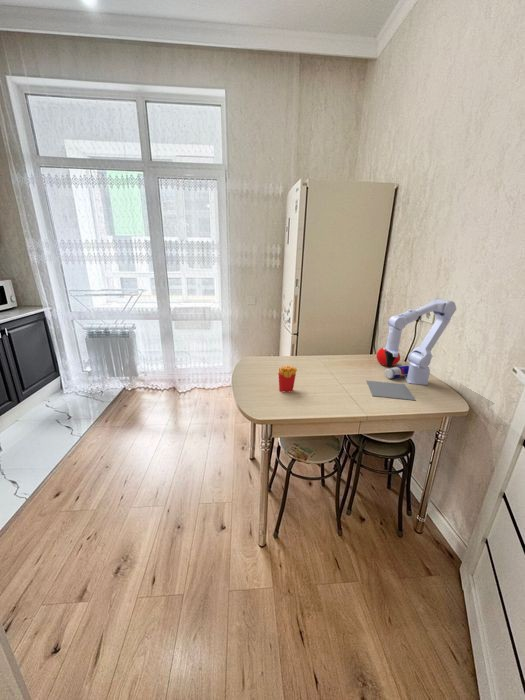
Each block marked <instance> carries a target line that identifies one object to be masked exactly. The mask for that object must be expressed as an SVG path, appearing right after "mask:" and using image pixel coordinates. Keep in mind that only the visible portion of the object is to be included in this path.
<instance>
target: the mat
mask: <svg viewBox="0 0 525 700" xmlns="http://www.w3.org/2000/svg"><path fill="white" fill-rule="evenodd" d="M366 384H367V386H368V388H369V391H370V393H371V395H372V397H377V398H383V399H384V398H386V399H396V400H406V401H414V402H416V399H415V397H414V395H413V394H412V393H411V391H410V389H409V388H408V387H407V385H406V384H404V383H397V382H396V383H394V382H389V381H387V382H385V381H376V380H375V381H374V380H366Z"/></svg>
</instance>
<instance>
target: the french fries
mask: <svg viewBox="0 0 525 700" xmlns="http://www.w3.org/2000/svg"><path fill="white" fill-rule="evenodd" d="M297 371H298V369H297V367H294V366H291V365H287V366H281V367H278V386H279V387H278V388H279V389H278V390H279V392H281V391H285V392H284V393H292V392H293V391H294V386H295V381H296V373H297ZM289 391H290V392H289ZM291 391H292V392H291Z"/></svg>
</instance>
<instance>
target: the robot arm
mask: <svg viewBox="0 0 525 700" xmlns="http://www.w3.org/2000/svg"><path fill="white" fill-rule="evenodd" d="M456 311H457V305H456V302H455V301H452V300H451V301H450V300H446V299H441V298H435V299H432V300H430V301H429V302H428V303H426V304H424V305H423V306H421V307H418V308H417V309H413V308H412V309H411V308H409V309H407V311H405V312H402V313H399V314H398V315H392V316H390V317H389V319H388V320H387V324H388V334H387V340H386V344H385V347H384V348H383V347H382V348H383V349H384V350H387V351H384V352H385V355H386V365H387V366H386V367H392V366H393V365H392V364H393V362H394V360H395V358H396V357H398V353H399V351H400V349H399V348H400V342H401V338H402V334H403V333H402V331H403V329H404V328H405V327H406V326H407V325H408V324H409V325H410V324H411V323H413V322H415V321H417V320H418V319H419V317H421V316H423V315H426V314H429V313H433V314H434V316H435V317H436V320H435V321H434V323H433V324H432V326H431V328H430V329H429V331H428V332H427V334H426V336H425V338H424V339H423V341H422V342H421V344H420V345H419V346H416V347H414V348H413V350H412V351H411V352H409V354H408V356H407V360H408V361H409V365H408V366H409V371H408V375H406V376H403V377H404V379H405V381H406V383H408V384H413V385H424V386H428V384H429V377H430V374H431V369H430V367H429V366H430V364H431V362H432V361H431V360H432V358H433V354H432V352H431V351H432V350H433V348H434V346H436V343H438V341H439V339H440V337H441V336H442V335H443V333H444V331H445V329H446V328H447V327H448V324H449V323H450V322H451V319H452V317H453V316H454V314H455V313H456Z"/></svg>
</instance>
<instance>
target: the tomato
mask: <svg viewBox="0 0 525 700" xmlns="http://www.w3.org/2000/svg"><path fill="white" fill-rule="evenodd" d="M383 348H384V347H381V348H379V349H378V350H377V352H376V360H377V362H378V363H379V364H381V365H382V366H385V367H388V366H387V365H386V355H385V352H384V351H387V350H384V349H383ZM400 360H401V355H400V353H399V352H398V357H396V358H395V360H394V362H393V364H392V366H394V365H397V364H398V363H399V362H400Z"/></svg>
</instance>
